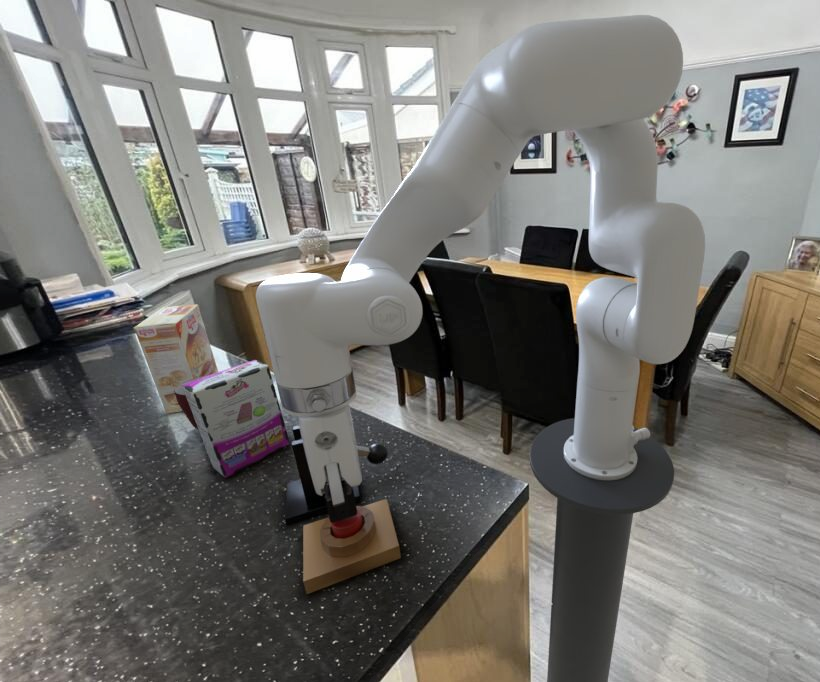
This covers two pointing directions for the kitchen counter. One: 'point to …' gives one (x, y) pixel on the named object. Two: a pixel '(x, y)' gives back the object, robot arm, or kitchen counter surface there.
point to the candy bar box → (237, 416)
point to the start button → (347, 526)
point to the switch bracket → (304, 488)
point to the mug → (185, 402)
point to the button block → (348, 548)
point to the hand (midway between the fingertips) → (343, 514)
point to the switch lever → (373, 453)
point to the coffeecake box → (175, 350)
